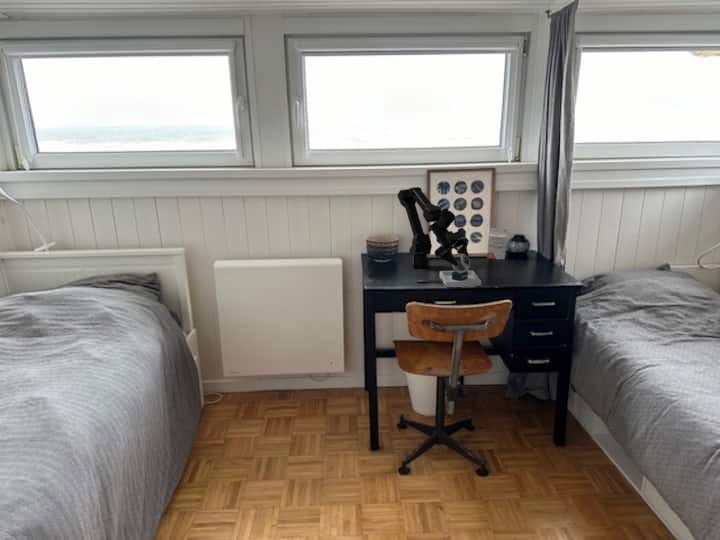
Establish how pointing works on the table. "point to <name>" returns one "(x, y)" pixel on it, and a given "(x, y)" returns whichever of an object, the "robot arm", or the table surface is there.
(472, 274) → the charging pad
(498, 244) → the ink cartridge box
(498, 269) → the table surface
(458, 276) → the watch
